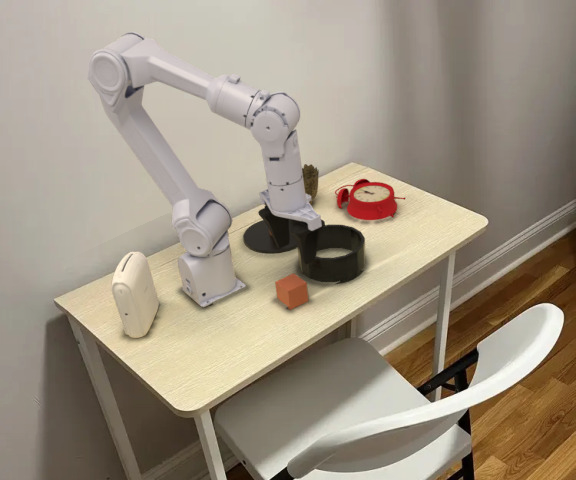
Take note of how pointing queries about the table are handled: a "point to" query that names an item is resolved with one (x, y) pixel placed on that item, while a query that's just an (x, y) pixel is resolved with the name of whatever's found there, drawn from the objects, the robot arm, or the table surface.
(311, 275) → the pot
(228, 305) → the table surface
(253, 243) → the lid
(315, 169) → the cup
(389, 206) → the alarm clock
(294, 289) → the block
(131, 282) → the photo printer
